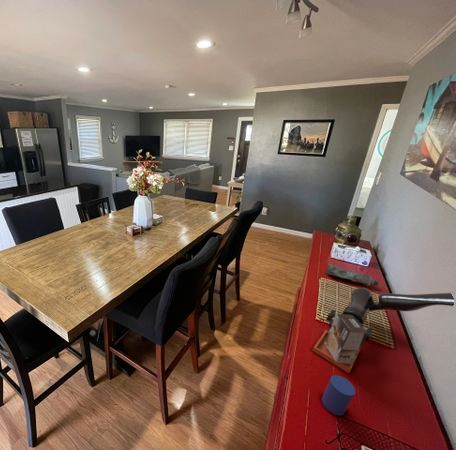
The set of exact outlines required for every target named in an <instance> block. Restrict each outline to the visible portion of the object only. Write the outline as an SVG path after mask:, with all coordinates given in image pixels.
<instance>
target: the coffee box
mask: <svg viewBox="0 0 456 450" xmlns="http://www.w3.org/2000/svg"><path fill="white" fill-rule="evenodd" d="M334 318H335V319H334V321H333V323H332V326H331V328H330V327H329V330H328V331H329V333H328V335H327V338H326V340H325V342H324V343H325V345H326V347H327V348H328V350H329V352H330V353H331V355H332V356H333V358H334V360H335V361H336V362H338V363H348V364H353V361H354V360H355V358H356V356H357V354H358V352H359V353H360V351H361V348H362V346H363V344H364V342H365V338H366V336H367V335H368V333H367V332H366V330H365V329H364V328H363V327H362V326H361V325H360V323H359V322H358V321H357V320H356V319H355V317H354V316H353V315H346V314H342V313H340V314H339V313H337V314H336V316H335V317H334ZM359 350H360V351H359ZM358 355H359V354H358ZM357 357H358V356H357ZM356 359H357V358H356ZM355 361H356V360H355ZM353 365H354V364H353Z"/></svg>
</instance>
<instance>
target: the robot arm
mask: <svg viewBox="0 0 456 450" xmlns="http://www.w3.org/2000/svg"><path fill="white" fill-rule="evenodd" d="M451 293H452V292H437V293H435V292H434V293H421V294H420V293H419V294H418V293H417V294H408V293H407V294H405V293H389V292H383V293H379V295H378V301H377V302H375V299H374V296H373V293H372V291H370V289H368V288H366V287H357V288H355V289H353V290H352V292H351V295H350V302H349V303H348V304H347V305H346V306H345V308H344V309H343V311H342V312H341V314H346V315H353V316H354V317H355V319H356V320H357V321H358V322H359V323H360V325H361V326H362V327H363V328H364V329H365V330H366V332H367V333H368V335H367V336H366V338H365V340H364V342H369V340H370V339H371V335H372V332H373V328H371V327H365V326H364V323H365V321H366V320H367V318H368V315H369V312H373V311H385V310H386V311H388V310H389V311H396V312H397V311H398V312H414V311H418V310H421V309H425V308H428V307H434V306H447V307H452V306H453V305H454V298H453V296H452V294H451ZM336 314H338V313H337V312H336V310H334V309H332V310H331V311H330V312H329V313H328V314H327V317H326V321H327V322H329V323H328V327H329V329H330V328H331V326H332V323H333V321H334V319H335V316H336Z"/></svg>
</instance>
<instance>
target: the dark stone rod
mask: <svg viewBox="0 0 456 450" xmlns="http://www.w3.org/2000/svg"><path fill="white" fill-rule="evenodd" d="M325 270H326V275H327V276H333V277H338V278H341V279H346V280H350V281H352V282H355V283H360V284H362V285H363V286H365V287H369V286H371V285H372V286H378V285H379V280H376V279H373V278H372V275H369V274H364V273H363V274H362V273H358V272H356V271H353V270H346V269H344V268H341V267H339V266H337V265H334V264H333V263H329V264H328V267H326V268H325Z"/></svg>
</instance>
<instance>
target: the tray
mask: <svg viewBox="0 0 456 450" xmlns="http://www.w3.org/2000/svg"><path fill="white" fill-rule="evenodd" d="M329 331H330V330H328V329H325V330H324V332H323V333H322V334H321V336H320V337H319V338H318V340H317V342H316V343H315V344H314V346H313V348H312V352H313V353H314V354H317V355H318V356H320V357H322V358H323V359H325V360H327V361H328V362H330V363H331V364H333V365H334V366H336V367H338V368H339V369H341V370H343V371H344V372H346V373H347V374H350V373H351V370H352V369H353V366H354V364H355V362H356V360H357V358H358V355H359V353H360V351H361V349H360V350H359V352H358V354H357V356H356V358H355V360H354V361H353V364H348V363H338V362H336V361H335V360H334V358H333V356H332V355H331V353H330V352H329V350H328V348H327V347H326V345H325V343H324V342H325V340H326V338H327V335H328V333H329Z"/></svg>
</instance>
